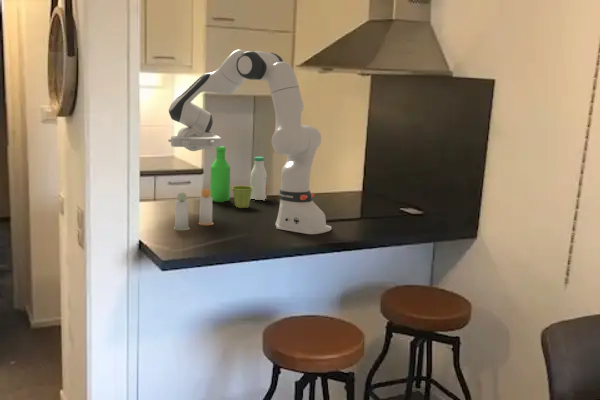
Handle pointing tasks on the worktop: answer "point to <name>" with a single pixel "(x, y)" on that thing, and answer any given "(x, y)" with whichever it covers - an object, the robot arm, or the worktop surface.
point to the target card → (189, 228)
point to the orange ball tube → (205, 208)
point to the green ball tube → (181, 212)
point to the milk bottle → (258, 180)
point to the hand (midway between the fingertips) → (200, 143)
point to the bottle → (220, 177)
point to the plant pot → (242, 196)
